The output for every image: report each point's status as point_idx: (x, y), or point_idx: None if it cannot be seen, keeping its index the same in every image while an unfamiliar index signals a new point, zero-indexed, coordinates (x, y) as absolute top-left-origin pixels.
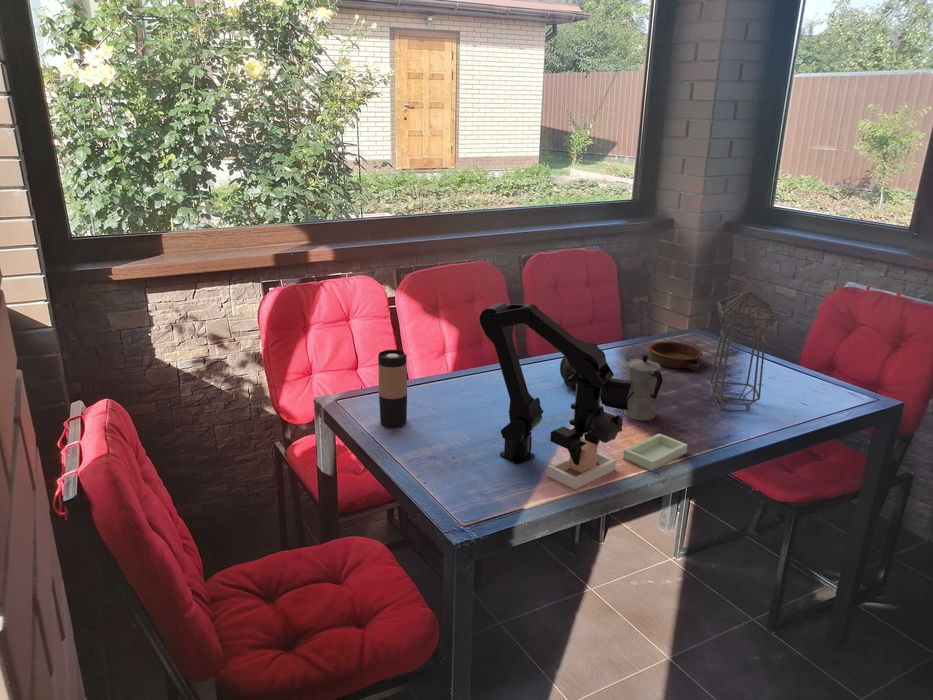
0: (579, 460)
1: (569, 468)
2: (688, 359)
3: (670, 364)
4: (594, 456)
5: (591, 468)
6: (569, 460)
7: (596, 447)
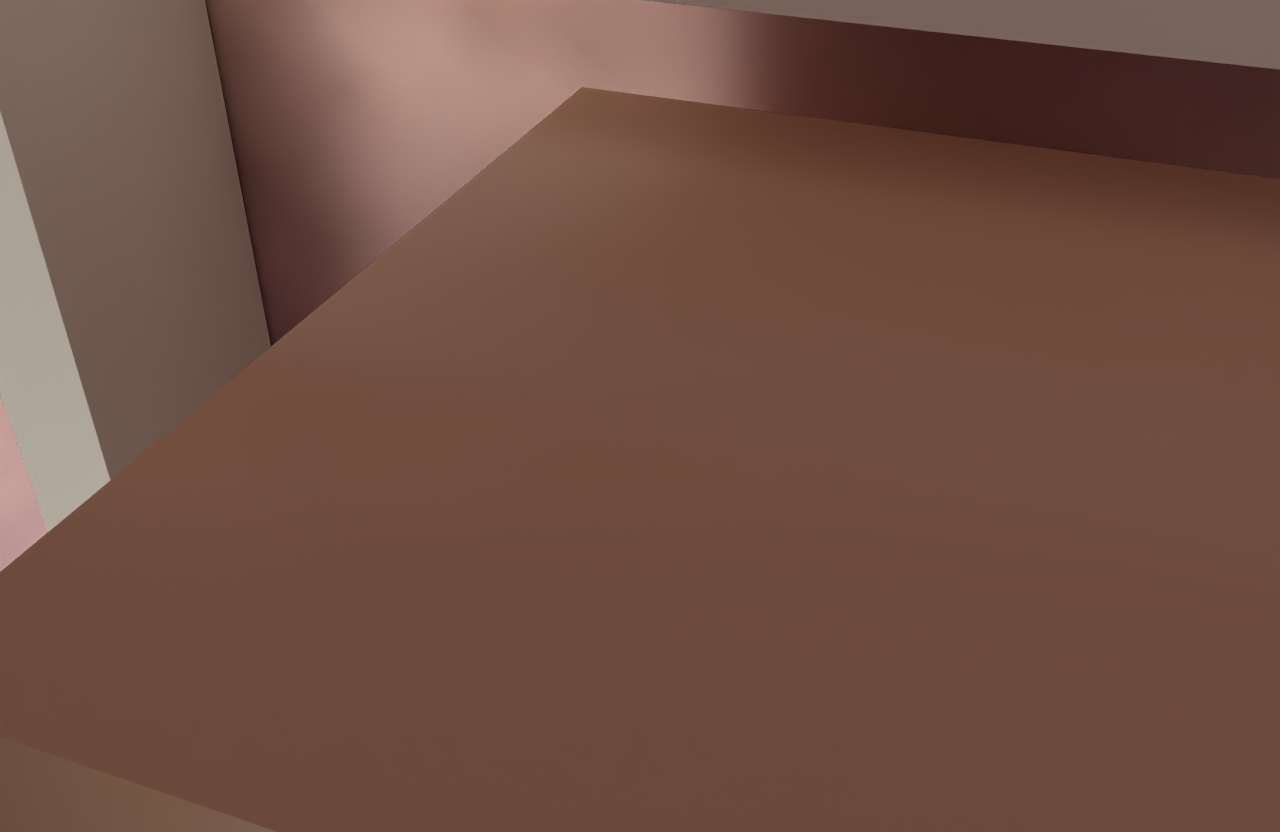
0: None
1: None
2: None
3: None
4: (485, 339)
5: (800, 140)
6: None
7: (56, 631)
